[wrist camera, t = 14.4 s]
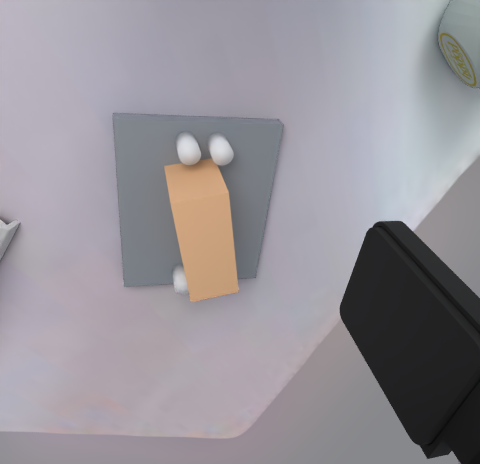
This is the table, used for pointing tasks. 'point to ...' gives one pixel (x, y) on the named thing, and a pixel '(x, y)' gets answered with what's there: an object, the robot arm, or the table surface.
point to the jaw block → (203, 228)
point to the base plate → (157, 196)
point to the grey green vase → (462, 39)
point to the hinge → (6, 234)
